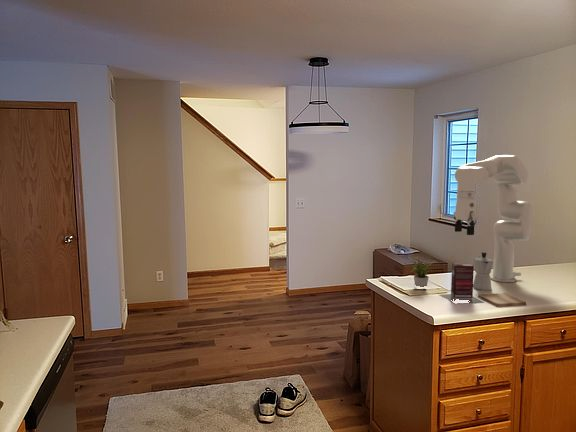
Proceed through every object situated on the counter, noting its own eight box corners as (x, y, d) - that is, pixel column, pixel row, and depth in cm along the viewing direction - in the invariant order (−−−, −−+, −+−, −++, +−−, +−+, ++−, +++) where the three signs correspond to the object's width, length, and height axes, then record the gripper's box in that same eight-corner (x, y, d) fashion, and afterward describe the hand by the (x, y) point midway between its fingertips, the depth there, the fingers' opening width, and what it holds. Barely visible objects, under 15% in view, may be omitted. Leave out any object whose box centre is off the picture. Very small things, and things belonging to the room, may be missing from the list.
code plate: (466, 293, 208) (466, 293, 208) (484, 302, 194) (484, 302, 194) (439, 295, 205) (439, 294, 205) (455, 304, 192) (455, 303, 192)
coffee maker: (495, 292, 209) (497, 255, 207) (475, 291, 211) (477, 254, 209) (487, 284, 224) (489, 249, 222) (469, 283, 226) (470, 248, 224)
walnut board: (505, 295, 204) (505, 292, 204) (526, 304, 191) (526, 302, 190) (477, 296, 202) (478, 294, 202) (496, 306, 188) (497, 303, 188)
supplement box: (469, 296, 202) (471, 263, 200) (472, 300, 197) (474, 265, 195) (450, 296, 202) (451, 262, 201) (452, 299, 198) (454, 265, 196)
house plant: (397, 287, 217) (398, 255, 215) (413, 282, 226) (414, 251, 224) (422, 294, 206) (423, 260, 205) (438, 288, 215) (439, 256, 213)
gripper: (485, 196, 186) (483, 236, 188) (463, 193, 203) (461, 230, 205) (469, 196, 185) (467, 236, 187) (448, 194, 202) (446, 230, 204)
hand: (464, 233), depth 196 cm, fingers open, 9 cm apart
